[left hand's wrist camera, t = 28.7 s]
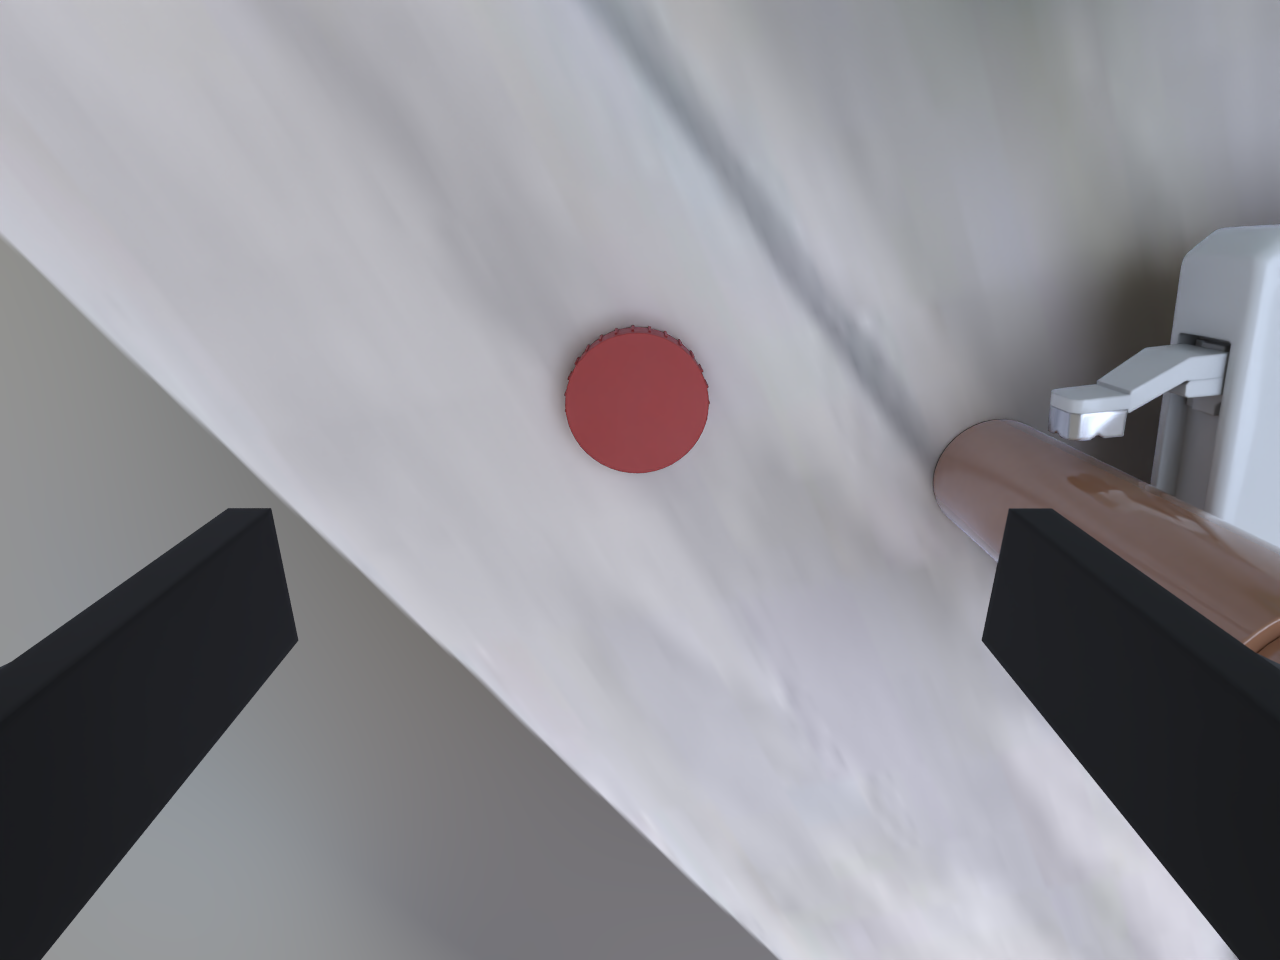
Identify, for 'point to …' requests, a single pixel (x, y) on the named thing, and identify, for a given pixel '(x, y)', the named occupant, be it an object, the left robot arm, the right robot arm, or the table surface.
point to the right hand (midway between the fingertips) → (1047, 532)
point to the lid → (636, 400)
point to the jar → (1114, 523)
